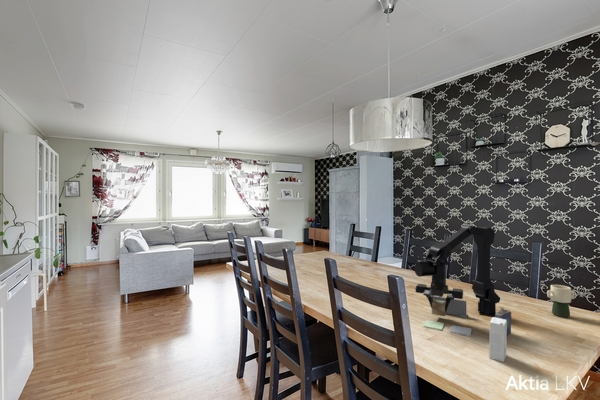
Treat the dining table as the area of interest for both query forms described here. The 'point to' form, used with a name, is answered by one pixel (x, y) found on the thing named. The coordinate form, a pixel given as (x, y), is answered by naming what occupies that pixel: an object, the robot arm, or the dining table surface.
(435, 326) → the green pad
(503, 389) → the dining table surface
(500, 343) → the skincare box
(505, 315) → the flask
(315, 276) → the dining table surface
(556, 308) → the character mug
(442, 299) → the screen
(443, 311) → the letter cube
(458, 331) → the slate pad
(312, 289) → the dining table surface
